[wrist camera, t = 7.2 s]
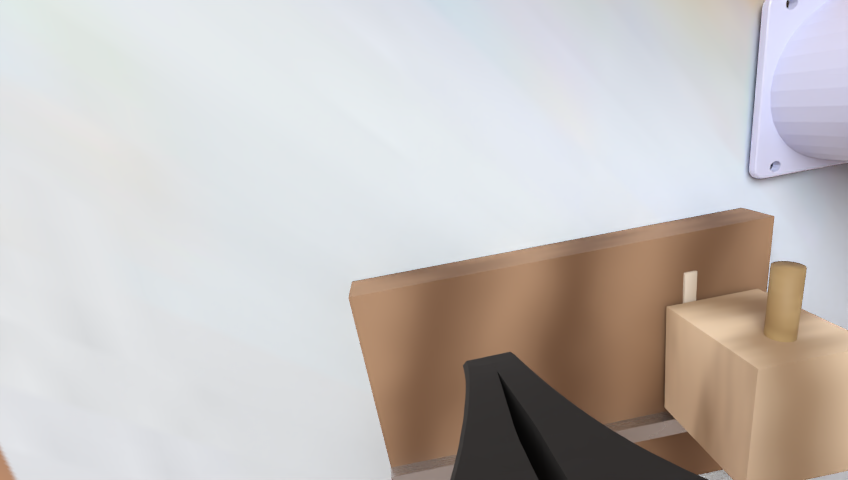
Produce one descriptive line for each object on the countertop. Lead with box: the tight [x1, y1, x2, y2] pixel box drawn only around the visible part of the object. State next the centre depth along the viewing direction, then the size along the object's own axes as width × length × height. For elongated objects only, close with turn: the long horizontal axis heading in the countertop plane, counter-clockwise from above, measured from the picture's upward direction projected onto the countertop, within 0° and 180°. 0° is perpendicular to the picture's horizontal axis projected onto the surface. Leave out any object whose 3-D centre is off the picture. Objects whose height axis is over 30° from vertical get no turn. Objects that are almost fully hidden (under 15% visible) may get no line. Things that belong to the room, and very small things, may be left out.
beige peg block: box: [664, 261, 848, 480], centre depth 17 cm, size 5×9×5 cm, turn 10°
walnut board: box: [349, 208, 774, 475], centre depth 21 cm, size 20×15×2 cm
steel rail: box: [391, 411, 687, 480], centre depth 21 cm, size 20×1×1 cm, turn 100°
